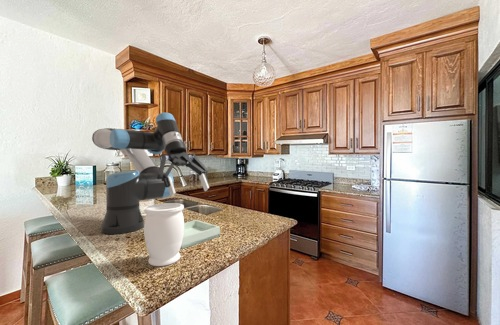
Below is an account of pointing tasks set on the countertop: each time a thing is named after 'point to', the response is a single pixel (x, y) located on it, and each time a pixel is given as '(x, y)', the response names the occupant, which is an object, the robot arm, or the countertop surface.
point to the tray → (198, 233)
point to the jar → (164, 232)
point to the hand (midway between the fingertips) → (191, 192)
